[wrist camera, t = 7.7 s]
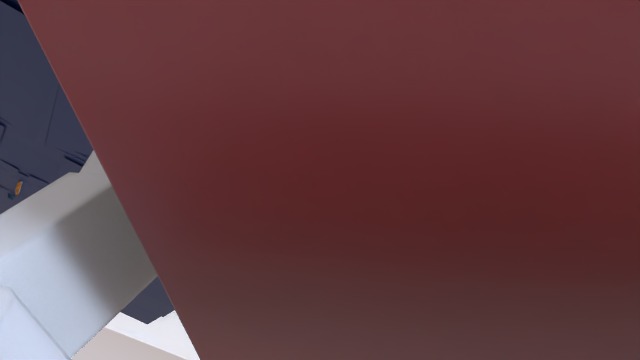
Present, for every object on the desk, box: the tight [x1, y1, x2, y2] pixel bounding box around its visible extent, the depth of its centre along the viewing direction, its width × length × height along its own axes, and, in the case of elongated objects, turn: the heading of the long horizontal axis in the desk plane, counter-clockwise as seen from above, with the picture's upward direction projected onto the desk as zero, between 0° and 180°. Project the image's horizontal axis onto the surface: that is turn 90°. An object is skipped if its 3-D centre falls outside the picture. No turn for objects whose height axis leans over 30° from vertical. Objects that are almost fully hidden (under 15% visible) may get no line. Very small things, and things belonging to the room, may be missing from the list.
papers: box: [0, 0, 175, 324], centre depth 32 cm, size 24×30×4 cm
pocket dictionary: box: [17, 0, 640, 360], centre depth 8 cm, size 6×10×4 cm, turn 5°
